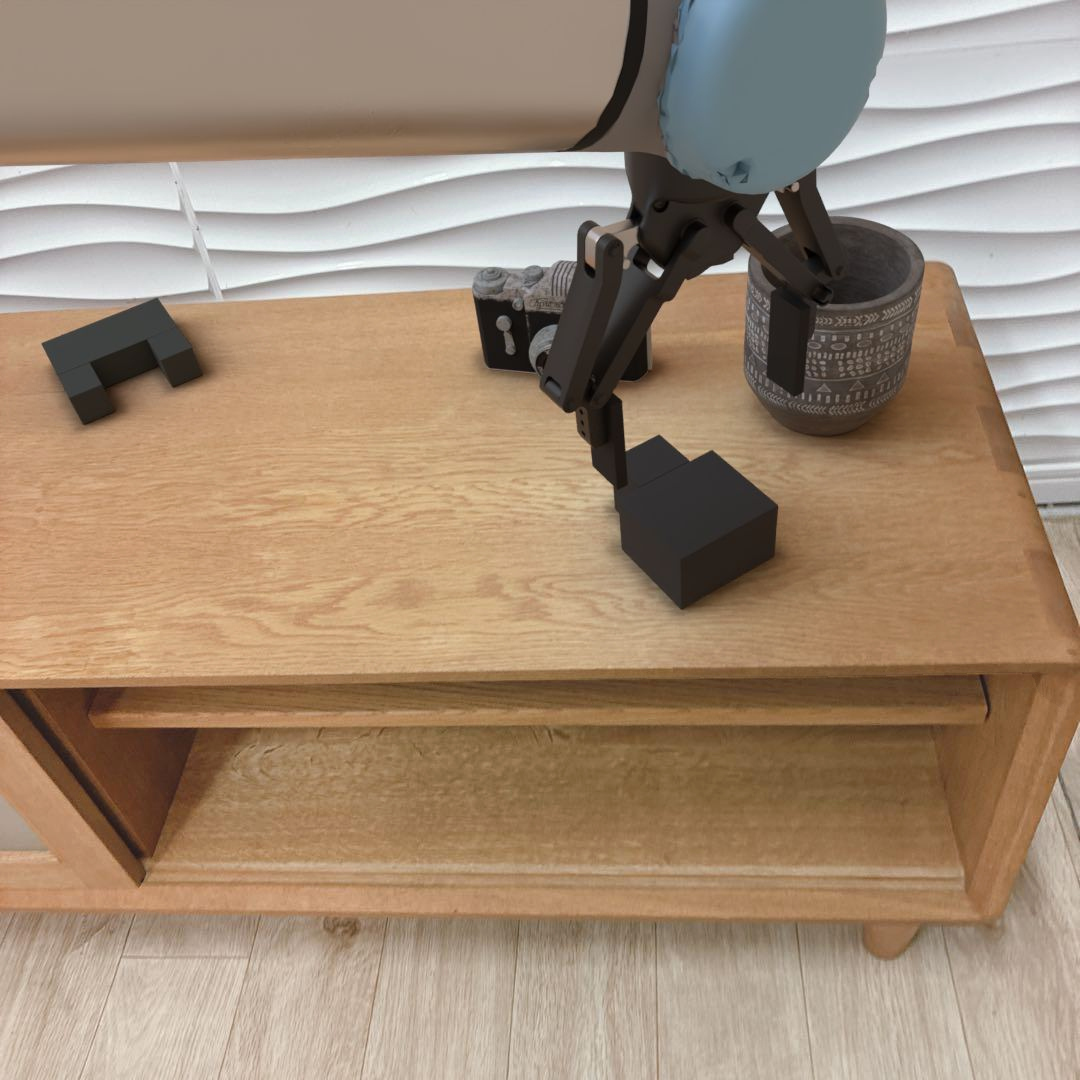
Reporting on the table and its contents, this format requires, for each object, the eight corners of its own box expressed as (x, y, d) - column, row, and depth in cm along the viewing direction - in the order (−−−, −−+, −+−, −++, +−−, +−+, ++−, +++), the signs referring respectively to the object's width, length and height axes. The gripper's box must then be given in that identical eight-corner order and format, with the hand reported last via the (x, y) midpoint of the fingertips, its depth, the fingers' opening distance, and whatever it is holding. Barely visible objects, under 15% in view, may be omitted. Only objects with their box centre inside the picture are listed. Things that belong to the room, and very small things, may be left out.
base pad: (83, 425, 93) (68, 398, 90) (55, 369, 99) (40, 343, 97) (203, 374, 96) (192, 347, 94) (168, 323, 102) (157, 297, 100)
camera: (467, 391, 90) (447, 289, 83) (490, 343, 95) (474, 242, 88) (640, 408, 87) (635, 303, 79) (656, 357, 91) (653, 253, 84)
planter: (847, 338, 90) (864, 199, 81) (932, 424, 82) (962, 279, 73) (715, 381, 88) (717, 242, 79) (789, 472, 80) (801, 330, 71)
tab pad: (681, 610, 72) (680, 559, 68) (593, 520, 78) (588, 470, 75) (774, 556, 74) (778, 505, 71) (681, 473, 81) (680, 422, 77)
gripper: (841, -4, 58) (812, 323, 73) (436, 155, 50) (498, 482, 66) (948, 36, 53) (893, 377, 68) (518, 217, 46) (564, 553, 61)
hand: (699, 429), depth 67 cm, fingers open, 13 cm apart
